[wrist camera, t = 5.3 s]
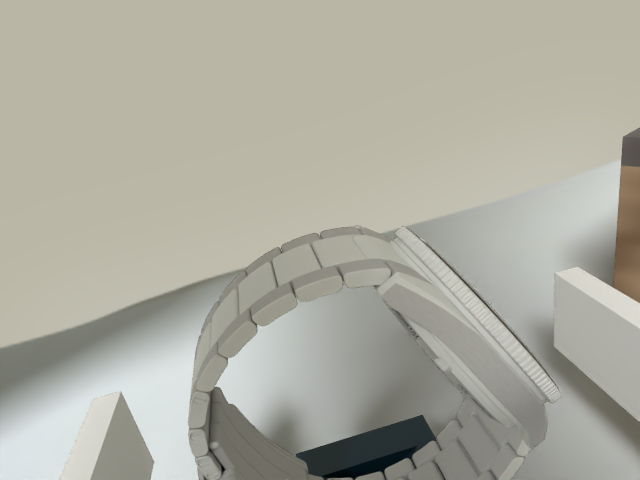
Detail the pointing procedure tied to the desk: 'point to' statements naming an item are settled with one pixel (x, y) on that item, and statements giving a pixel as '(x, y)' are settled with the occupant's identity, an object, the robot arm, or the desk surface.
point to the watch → (427, 330)
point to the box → (629, 220)
